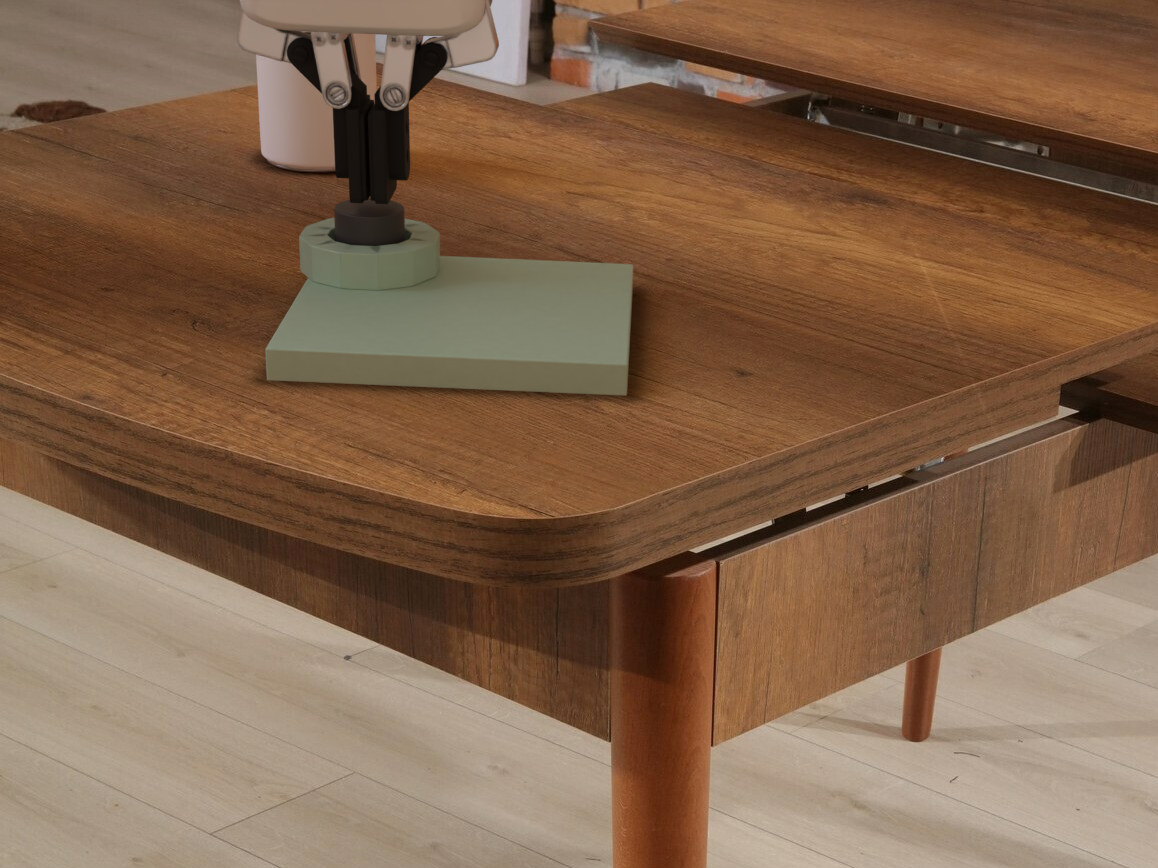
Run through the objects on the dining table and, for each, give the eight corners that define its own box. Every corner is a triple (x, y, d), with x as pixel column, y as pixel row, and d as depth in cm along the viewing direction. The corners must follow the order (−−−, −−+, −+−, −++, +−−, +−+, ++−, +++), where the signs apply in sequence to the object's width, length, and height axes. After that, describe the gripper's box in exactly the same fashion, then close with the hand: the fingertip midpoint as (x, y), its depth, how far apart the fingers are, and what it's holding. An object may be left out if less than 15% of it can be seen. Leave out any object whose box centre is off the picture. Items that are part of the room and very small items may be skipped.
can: (343, 179, 97) (337, -49, 92) (239, 165, 98) (226, -61, 93) (397, 154, 102) (394, -63, 97) (297, 141, 104) (289, -73, 99)
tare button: (329, 250, 76) (328, 215, 75) (341, 230, 79) (340, 196, 78) (399, 253, 76) (399, 218, 75) (409, 233, 79) (408, 199, 78)
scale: (254, 381, 69) (250, 308, 68) (316, 276, 81) (314, 212, 80) (626, 397, 69) (629, 324, 68) (632, 290, 81) (635, 226, 80)
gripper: (557, -263, 72) (552, 180, 80) (189, -278, 72) (219, 167, 80) (546, -257, 66) (541, 226, 73) (139, -274, 65) (178, 213, 73)
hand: (373, 194), depth 77 cm, fingers closed
